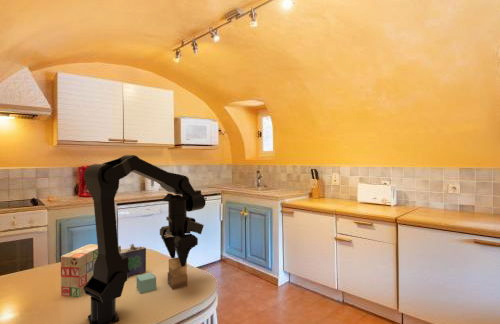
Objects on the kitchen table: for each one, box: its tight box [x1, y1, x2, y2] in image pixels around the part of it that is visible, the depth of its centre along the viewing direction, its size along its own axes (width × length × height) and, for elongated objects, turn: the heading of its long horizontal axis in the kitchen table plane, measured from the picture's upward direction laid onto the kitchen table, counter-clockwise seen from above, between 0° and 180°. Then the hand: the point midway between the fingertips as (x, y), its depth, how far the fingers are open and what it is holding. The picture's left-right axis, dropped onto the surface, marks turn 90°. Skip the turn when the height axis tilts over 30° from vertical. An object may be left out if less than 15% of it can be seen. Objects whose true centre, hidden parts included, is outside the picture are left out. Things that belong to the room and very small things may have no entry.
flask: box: [120, 243, 147, 278], centre depth 104 cm, size 9×3×11 cm, turn 133°
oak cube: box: [168, 256, 188, 277], centre depth 96 cm, size 4×4×4 cm
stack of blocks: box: [60, 243, 122, 298], centre depth 98 cm, size 21×6×12 cm, turn 171°
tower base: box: [136, 272, 157, 294], centre depth 93 cm, size 5×5×4 cm
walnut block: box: [167, 271, 188, 291], centre depth 96 cm, size 5×5×4 cm
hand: (177, 261), depth 96 cm, fingers open, 9 cm apart
